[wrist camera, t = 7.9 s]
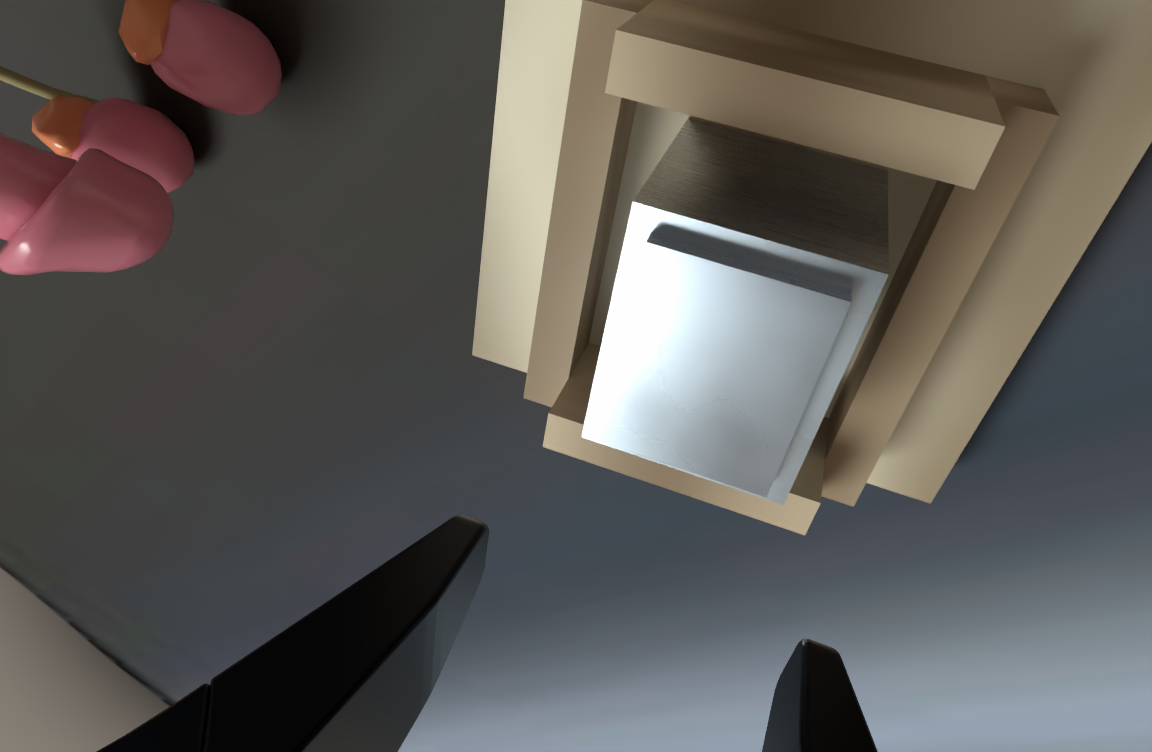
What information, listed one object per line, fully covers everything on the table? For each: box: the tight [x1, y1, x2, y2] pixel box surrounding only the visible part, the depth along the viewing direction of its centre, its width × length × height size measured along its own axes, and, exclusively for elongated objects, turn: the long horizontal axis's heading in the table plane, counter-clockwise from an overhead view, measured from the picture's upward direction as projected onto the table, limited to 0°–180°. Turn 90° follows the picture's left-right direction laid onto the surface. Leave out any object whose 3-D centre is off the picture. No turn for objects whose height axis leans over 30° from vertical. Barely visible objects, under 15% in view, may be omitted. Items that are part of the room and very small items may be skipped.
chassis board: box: [472, 0, 1152, 535], centre depth 14 cm, size 12×20×4 cm, turn 170°
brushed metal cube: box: [581, 118, 889, 505], centre depth 15 cm, size 4×5×5 cm
